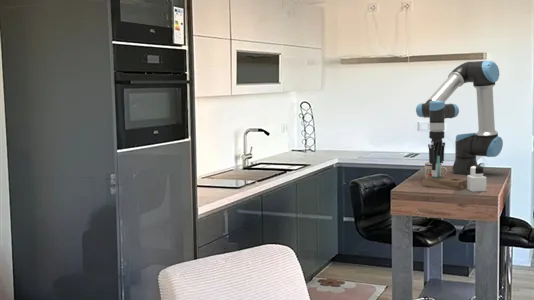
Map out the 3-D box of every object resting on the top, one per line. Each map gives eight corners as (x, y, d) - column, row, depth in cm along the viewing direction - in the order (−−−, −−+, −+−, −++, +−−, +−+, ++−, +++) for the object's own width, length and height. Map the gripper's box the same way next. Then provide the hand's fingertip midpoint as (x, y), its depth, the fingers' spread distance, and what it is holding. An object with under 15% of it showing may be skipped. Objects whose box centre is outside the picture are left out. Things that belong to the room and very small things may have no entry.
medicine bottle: (480, 189, 311) (481, 165, 310) (486, 191, 304) (486, 167, 303) (466, 189, 311) (467, 165, 309) (471, 191, 304) (472, 167, 302)
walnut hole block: (434, 183, 331) (434, 175, 331) (469, 187, 317) (469, 179, 317) (422, 186, 323) (422, 178, 322) (458, 190, 309) (458, 182, 308)
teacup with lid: (422, 180, 341) (422, 159, 339) (426, 178, 349) (426, 157, 347) (445, 181, 335) (445, 160, 334) (448, 179, 343) (448, 158, 342)
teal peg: (435, 183, 326) (435, 155, 324) (440, 184, 324) (440, 155, 322) (432, 184, 324) (432, 155, 322) (437, 185, 322) (437, 156, 320)
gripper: (438, 129, 329) (437, 173, 332) (422, 131, 318) (421, 177, 320) (451, 130, 324) (450, 174, 326) (435, 132, 312) (434, 178, 315)
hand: (436, 175), depth 323 cm, fingers closed on teal peg, 3 cm apart
